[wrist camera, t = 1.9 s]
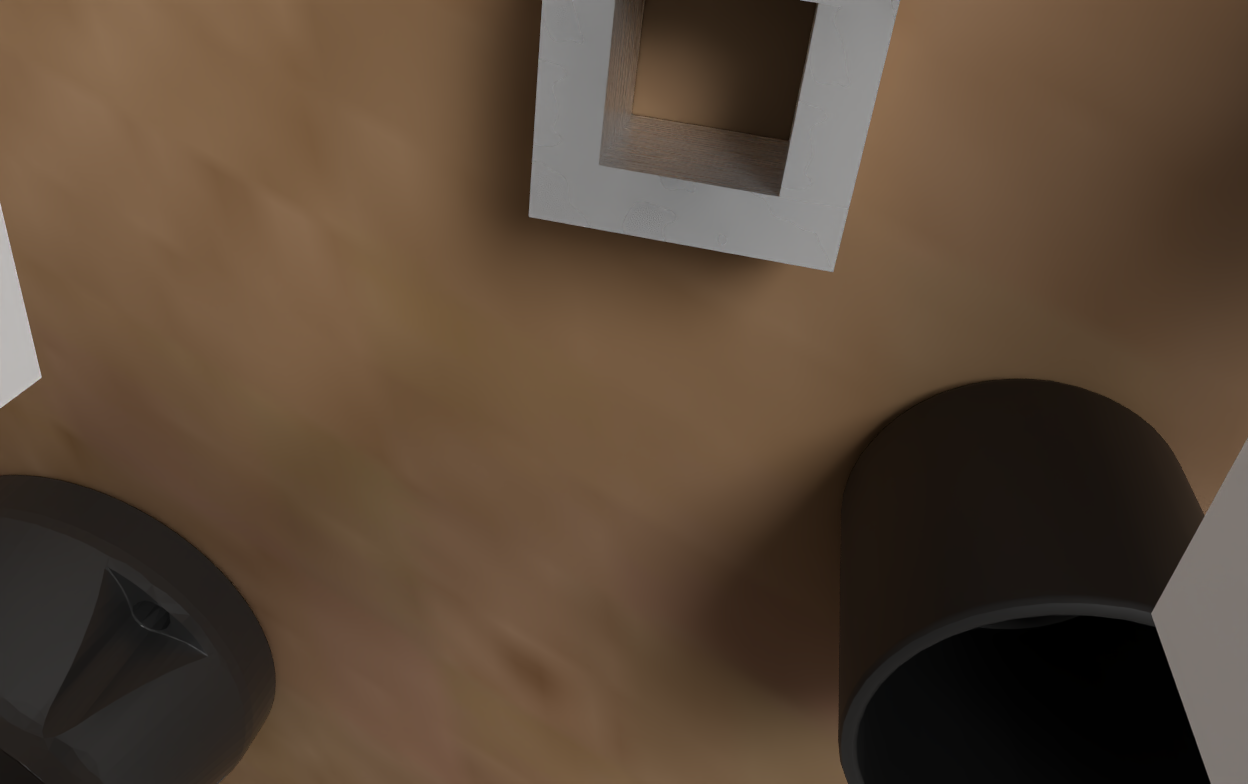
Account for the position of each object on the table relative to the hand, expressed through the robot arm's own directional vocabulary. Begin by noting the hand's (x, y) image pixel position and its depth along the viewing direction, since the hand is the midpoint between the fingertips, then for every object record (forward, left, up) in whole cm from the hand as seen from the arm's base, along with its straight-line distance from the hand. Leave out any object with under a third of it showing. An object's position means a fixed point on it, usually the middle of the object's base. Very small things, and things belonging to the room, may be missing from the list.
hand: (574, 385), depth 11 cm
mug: (+10, -13, -16) cm, 23 cm away
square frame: (0, 0, -16) cm, 16 cm away
